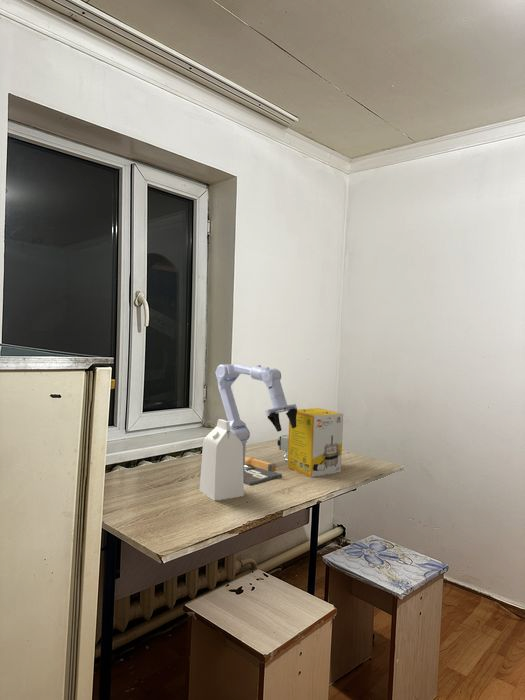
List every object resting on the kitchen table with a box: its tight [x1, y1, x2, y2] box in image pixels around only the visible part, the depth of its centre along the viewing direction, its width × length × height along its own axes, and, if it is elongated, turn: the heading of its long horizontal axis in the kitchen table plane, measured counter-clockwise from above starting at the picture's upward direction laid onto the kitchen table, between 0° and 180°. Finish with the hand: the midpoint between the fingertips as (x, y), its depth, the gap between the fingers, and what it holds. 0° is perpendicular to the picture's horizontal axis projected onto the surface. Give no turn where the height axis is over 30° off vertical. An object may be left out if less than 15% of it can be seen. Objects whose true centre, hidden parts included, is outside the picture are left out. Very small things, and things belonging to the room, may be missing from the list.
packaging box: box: [286, 407, 344, 478], centre depth 202 cm, size 16×16×25 cm
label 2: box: [253, 474, 268, 479], centre depth 186 cm, size 5×4×1 cm
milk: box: [198, 418, 245, 502], centre depth 168 cm, size 12×12×26 cm
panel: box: [243, 464, 283, 486], centre depth 192 cm, size 20×18×2 cm
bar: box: [245, 456, 277, 472], centre depth 194 cm, size 16×4×3 cm, turn 45°
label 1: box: [246, 470, 261, 475], centre depth 191 cm, size 5×4×1 cm
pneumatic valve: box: [276, 434, 289, 462], centre depth 216 cm, size 6×12×12 cm, turn 51°
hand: (287, 429), depth 190 cm, fingers open, 7 cm apart
